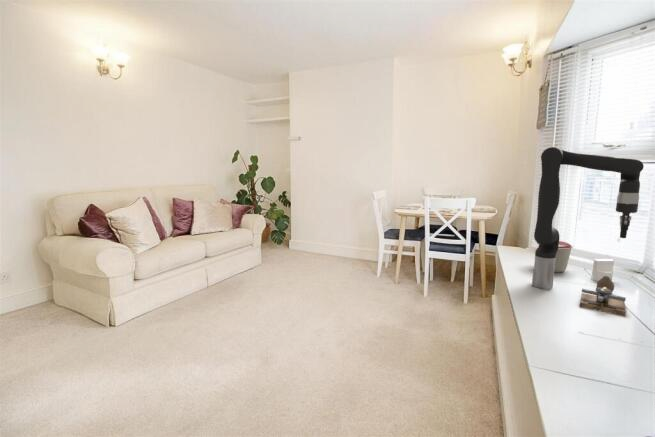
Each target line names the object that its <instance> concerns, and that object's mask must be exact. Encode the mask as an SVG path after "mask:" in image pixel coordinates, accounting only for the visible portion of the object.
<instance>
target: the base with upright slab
mask: <svg viewBox="0 0 655 437" xmlns="http://www.w3.org/2000/svg"><path fill="white" fill-rule="evenodd" d="M614 262H615V260H614V259H611V258H594V259H593V264H592V270H591V280H592V281H595V282H596V283H597V282H598V281H599V280H600V279H601V278H603V276H608V277H610V279H611V281H612V282H613V274H614V271H613V270H614V264H615V263H614Z"/></svg>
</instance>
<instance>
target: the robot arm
mask: <svg viewBox="0 0 655 437" xmlns="http://www.w3.org/2000/svg"><path fill="white" fill-rule="evenodd" d="M540 162H541V178H540V182H539V186H538V187H539V188H538V198H537V213H536V214H537V215H536V216H537V217H536V224H535V228H534V233H533V236H534V237H533V238H534V240H535V242H536V243H538V244H539V245H538V244H537V245H538V247H537V248H536V249H535V252H534V253H535V254H534V263H533V264H534V266H533V271H532V279H531V280H532V283H531V286H532V287H535V288H537V289H542V290H551V289H553V287H554V280H555V279H554V278H555V277H554V276H555V272H554V268H555V258H556V253H557V251H558V245H559V241H560V232H559V230H558V229H557V228H556V227H553V220H554V217H555V214H556V212H557V210H558V208H559V205H560V199H561V197H560V196H561V184H560V170H561V166H562V165H564V166H573V167H574V166H575V167H580V168H585V169H590V170H597V171H603V172H612V173H613V172H614V173H619V174H620V182H619V187H618V194H617V197H616V204H615V212H618V213H621V215H619V230H620V233H619V238H620V239H626V238H627V234H628V231H629V227H630V225H631V221H632V216H631V214H635V213H637V212H638V209H639V208H638V207H639V200H640V188H641V182H640V176H641V172H642V171H643V169H644V163H643V162H642V161H641V160H639V159H635V158H634V159H633V158H625V157H615V156H611V155H610V156H609V155H602V154H591V153H577V152H572V151H567V150H563V149H561V148H558V147H556V146H552V147H551V146H550V147H547V148H546V149H544V150H543V151H542V153H541V155H540Z"/></svg>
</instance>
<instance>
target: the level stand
mask: <svg viewBox="0 0 655 437" xmlns="http://www.w3.org/2000/svg"><path fill="white" fill-rule="evenodd" d="M596 297H597V295H593V294H588V293H583V292H581V295H580V299H579V307H580V308H585V309H590V310H594V309H596V311H599V310H601V311H600V312H604V311H605V312H604V313H609V312H610V313H609V314H613V313H614V315H618V316H624V317H626V313H627V311H626V310H627V309H626V303H625V302H626V301H620V300H616V299H611V298H609V301H608V303H601V302H598V301H596Z"/></svg>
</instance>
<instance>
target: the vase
mask: <svg viewBox="0 0 655 437" xmlns="http://www.w3.org/2000/svg"><path fill="white" fill-rule="evenodd" d="M598 287H600V288H603V287H606V288H607V289H609V290H611V294H612V293H613V292H614V289H615V284H614V282H613V280H612V281H611V279H610V277H608V276H603V278H601V279H600V280H599V281H598V282H597V281H596V288H598Z"/></svg>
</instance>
